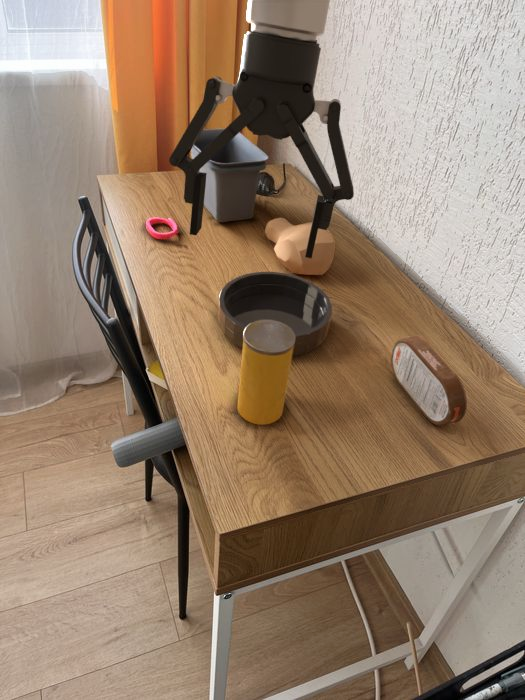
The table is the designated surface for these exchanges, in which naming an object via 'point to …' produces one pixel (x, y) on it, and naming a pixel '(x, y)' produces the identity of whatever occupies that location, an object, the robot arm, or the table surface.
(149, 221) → the fitness band
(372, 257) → the table surface
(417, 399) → the tin
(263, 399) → the corn can
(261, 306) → the pan
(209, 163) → the storage bin
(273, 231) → the squash
